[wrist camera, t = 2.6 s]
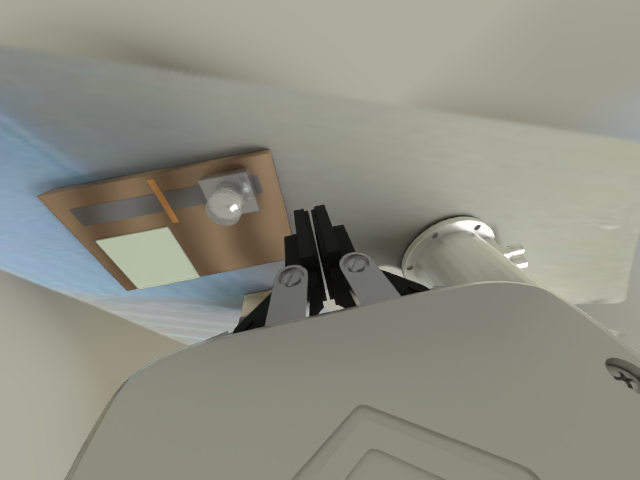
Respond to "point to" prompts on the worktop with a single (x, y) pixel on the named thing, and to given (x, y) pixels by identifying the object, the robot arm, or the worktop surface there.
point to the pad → (149, 257)
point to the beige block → (252, 302)
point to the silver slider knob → (229, 195)
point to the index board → (178, 214)
